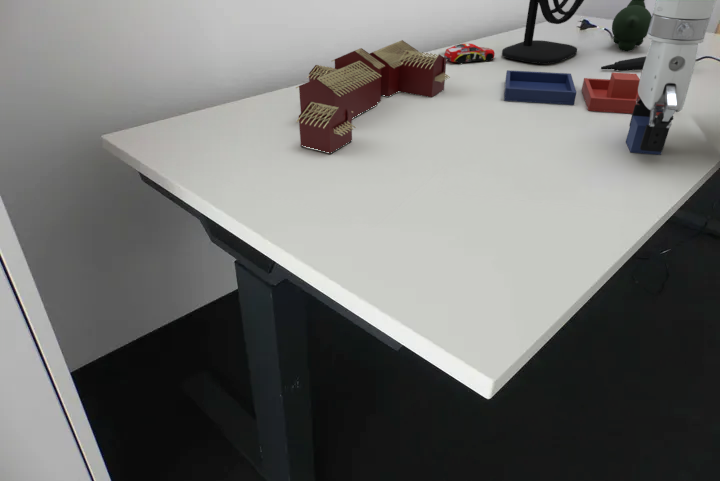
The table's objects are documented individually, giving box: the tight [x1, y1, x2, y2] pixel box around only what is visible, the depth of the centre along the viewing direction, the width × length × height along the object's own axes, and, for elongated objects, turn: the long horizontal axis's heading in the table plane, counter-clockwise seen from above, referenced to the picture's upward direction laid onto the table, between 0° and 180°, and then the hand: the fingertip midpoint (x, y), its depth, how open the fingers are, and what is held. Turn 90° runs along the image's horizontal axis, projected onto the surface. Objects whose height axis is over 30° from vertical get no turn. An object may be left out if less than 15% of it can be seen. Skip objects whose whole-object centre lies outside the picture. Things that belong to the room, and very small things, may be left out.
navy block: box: [625, 116, 663, 156], centre depth 88 cm, size 5×5×5 cm
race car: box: [443, 42, 496, 64], centre depth 136 cm, size 13×5×4 cm, turn 105°
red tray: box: [581, 77, 664, 116], centre depth 108 cm, size 14×14×3 cm
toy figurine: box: [611, 0, 652, 53], centre depth 143 cm, size 9×19×25 cm
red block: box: [607, 72, 640, 99], centre depth 107 cm, size 5×5×5 cm
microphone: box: [600, 55, 647, 72], centre depth 126 cm, size 6×6×20 cm
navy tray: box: [503, 69, 577, 106], centre depth 114 cm, size 14×14×3 cm
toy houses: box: [295, 39, 451, 153], centre depth 104 cm, size 45×20×10 cm, turn 148°
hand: (644, 138), depth 88 cm, fingers open, 9 cm apart
